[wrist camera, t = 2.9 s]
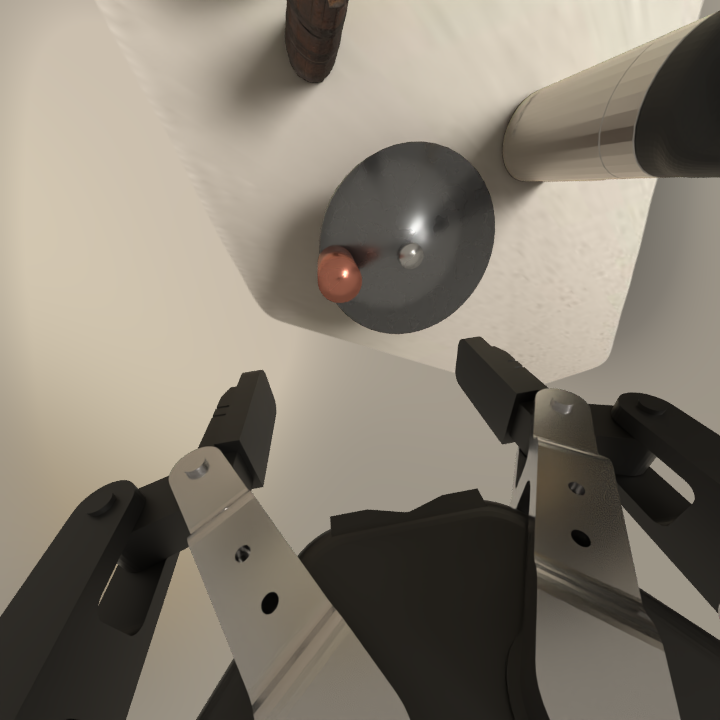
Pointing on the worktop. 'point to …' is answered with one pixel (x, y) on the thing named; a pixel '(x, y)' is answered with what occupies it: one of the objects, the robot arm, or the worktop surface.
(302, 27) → the butter churn
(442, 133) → the worktop surface
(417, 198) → the grey disc with knob
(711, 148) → the robot arm
